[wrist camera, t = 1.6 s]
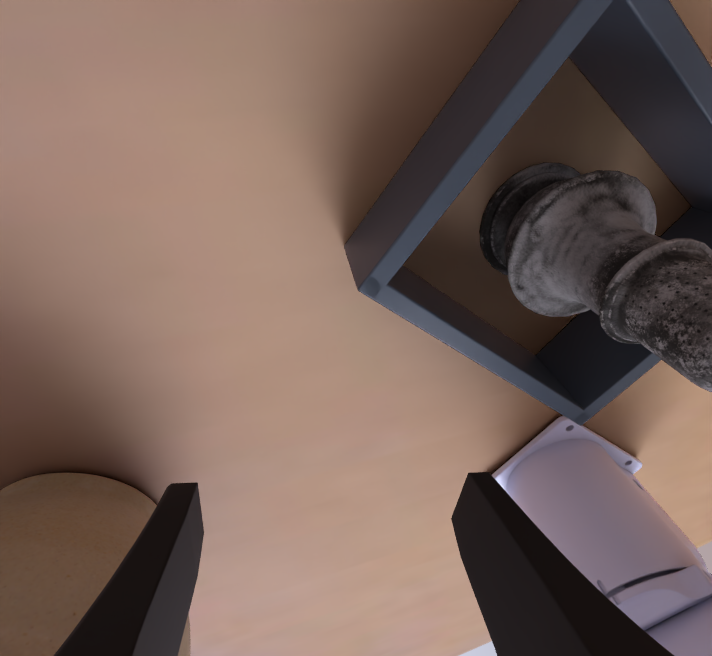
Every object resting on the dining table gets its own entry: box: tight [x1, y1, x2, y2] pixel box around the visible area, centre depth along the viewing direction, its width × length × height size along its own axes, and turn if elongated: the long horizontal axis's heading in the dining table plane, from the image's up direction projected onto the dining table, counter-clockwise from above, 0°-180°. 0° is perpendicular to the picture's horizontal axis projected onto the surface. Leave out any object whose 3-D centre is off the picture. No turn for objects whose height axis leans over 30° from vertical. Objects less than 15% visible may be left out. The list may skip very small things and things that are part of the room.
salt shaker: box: [480, 163, 712, 392], centre depth 14 cm, size 6×6×12 cm
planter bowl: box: [0, 473, 190, 656], centre depth 20 cm, size 16×16×11 cm
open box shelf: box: [344, 0, 712, 426], centre depth 17 cm, size 14×12×4 cm
